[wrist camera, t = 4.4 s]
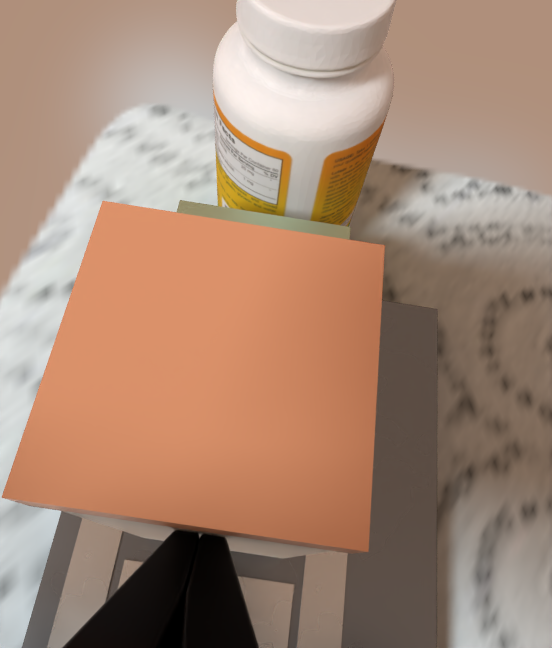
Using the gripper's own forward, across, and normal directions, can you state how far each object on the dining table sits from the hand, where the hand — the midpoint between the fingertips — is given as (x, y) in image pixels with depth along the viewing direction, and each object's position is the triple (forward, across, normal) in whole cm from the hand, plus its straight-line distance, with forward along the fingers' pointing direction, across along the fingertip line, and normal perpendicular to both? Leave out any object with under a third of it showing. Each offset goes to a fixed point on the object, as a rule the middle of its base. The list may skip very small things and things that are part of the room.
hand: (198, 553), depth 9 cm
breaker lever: (+7, 0, +3) cm, 7 cm away
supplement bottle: (+15, 0, -3) cm, 16 cm away
